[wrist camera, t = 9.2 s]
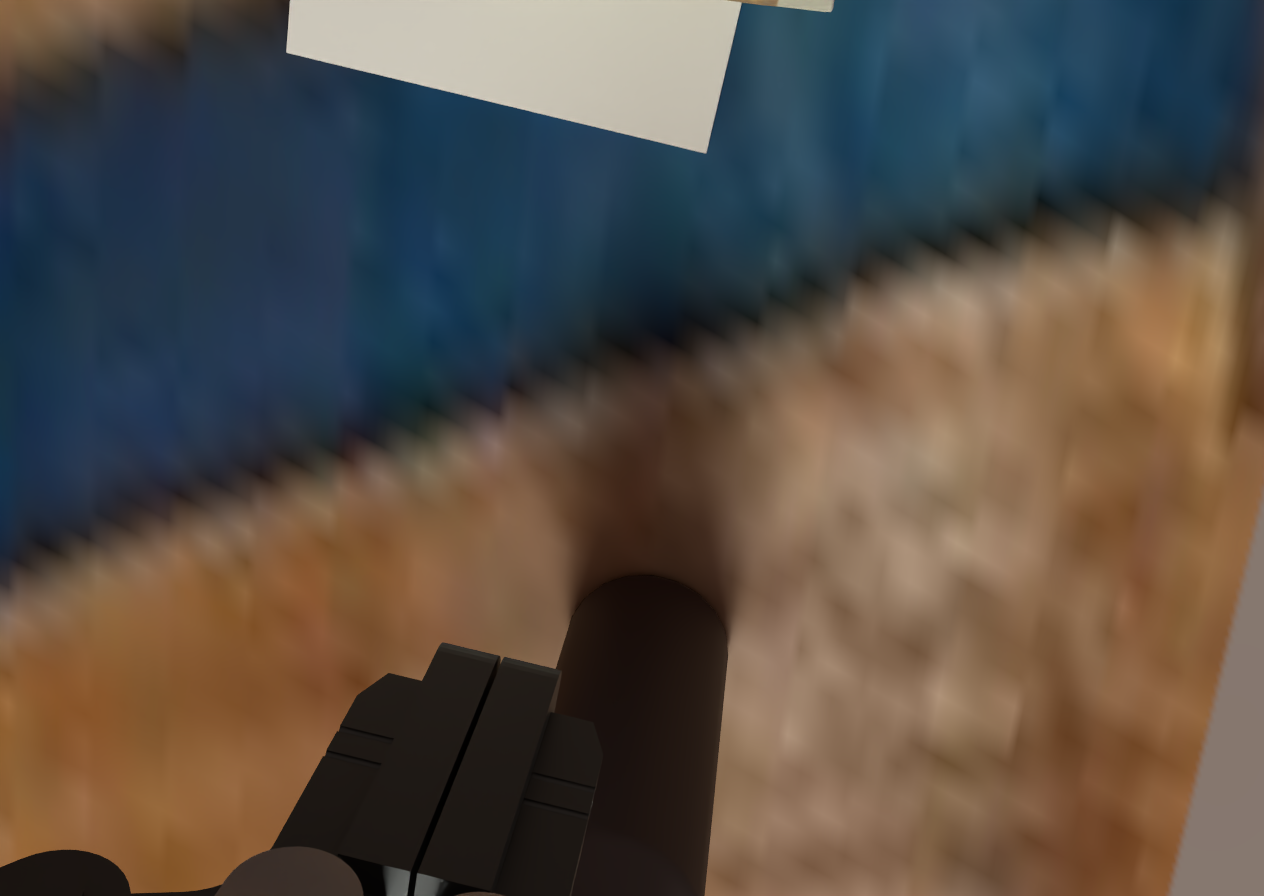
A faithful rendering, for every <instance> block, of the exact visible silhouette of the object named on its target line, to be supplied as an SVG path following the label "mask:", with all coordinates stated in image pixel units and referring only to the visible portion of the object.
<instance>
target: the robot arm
mask: <svg viewBox="0 0 1264 896" xmlns="http://www.w3.org/2000/svg"><path fill="white" fill-rule="evenodd" d="M500 661H501V659H500V656H498V655H494V654H489V653H485V652H481V651H477V650H473V649H469V648H464V647H460V646H456V645H452V644H448V643H441V645H440V646H439V648H438V650H437V652H436V654H435V656H434V658H433V660H432V662H431V664H430V666H429V668H428V670H427V672H426V674H425V676H424V678H423V680H422V681H420V680H416V679H411V678H407V677H403V676H399V675H395V674H391V673H388V674H387V675H385V676H384V677H382V678H381V679H380V680H378V681H377V682H375V683H374V684H373V685H371V686H370V687H368V688H367V689H365V690H364V691H363V692H361V693H360V694H358V695H357V697H356V698H355V700H354V702H353V704H352V706H351V707H350V709H349V711H348V713H347V715H346V716H345V718H344V720H343V722H342V723H341V725H340V729H339V732H338V731H337V732H336V734H335V736H334V738H333V740H332V741H331V743H330V745H329V747H328V748H327V751H326V755H325V757H324V756H323V757H322V759H321V761H320V763H319V765H318V766H317V768H316V770H315V772H314V773H313V775H312V777H311V779H310V781H309V782H308V784H307V786H306V788H305V790H304V791H303V793H302V795H301V797H300V798H299V800H298V802H297V804H296V806H295V807H294V809H293V811H292V813H291V815H290V816H289V818H288V820H287V822H286V823H285V825H284V827H283V829H282V831H281V832H280V834H279V836H278V838H277V840H276V841H275V843H274V845H273V846H272V848H271V849H270V850H269V851H265V852H262V853H260V854H258V855H256V856H253V857H251V858H250V859H248V860H246V861H245V862H243V863H242V864H240V865H239V866H238V867H237V868H236V869H235V870H233V872H232V873H231V874H230V875H229V876H228V877H227V879H226V880H225V881H224V883H223V884H222V885H219V886H216V887H212V888H208V889H203V890H198V891H189V892H168V893H135V894H131V891H130V887H129V883H128V881H127V879H126V877H125V875H124V873H123V872H122V871H121V870H120V869H119V867H118V866H116V865H115V864H114V863H112V862H111V861H110V860H108V859H106V858H104V857H102V856H100V855H97V854H93V853H90V852H85V851H79V850H56V851H47V852H43V853H38V854H34V855H31V856H28V857H25V858H23V859H20V860H17V861H15V862H13V863H10V864H8V865H5V866H3V867H0V896H571V893H572V888H573V884H574V880H575V876H576V871H577V867H578V863H579V859H580V855H581V850H582V846H583V842H584V837H585V833H586V829H587V824H588V820H589V816H590V811H591V807H592V803H593V798H594V794H595V790H596V785H597V781H598V776H599V772H600V768H601V763H602V759H603V752H602V748H601V745H600V742H599V739H598V736H597V732H596V729H595V726H594V723H593V722H591V721H586V720H582V719H578V718H574V717H570V716H566V715H562V714H557V713H554V711H555V706H556V701H557V696H558V692H559V687H560V681H561V675H562V671H561V670H557V669H553V668H549V667H545V666H540V665H536V664H532V663H528V662H524V661H520V660H515V659H511V658H507V657H504V658H503V660H502V662H501V664H500Z"/></svg>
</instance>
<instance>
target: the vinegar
mask: <svg viewBox="0 0 1264 896" xmlns="http://www.w3.org/2000/svg"><path fill="white" fill-rule="evenodd" d="M727 660H728V650H727V640H726V633H725V630H724V628H723V626H722V624H721V622H720V620H719V618H718V616H717V614H716V612H715V610H714V609H713V608H712V607H711V606H710V605H709V604H708V603H707V602H706V601H705V600H704V599H703V598H702V597H701V596H700V595H699V594H698V593H696V592H694V591H693V590H691V589H689V588H687V587H685V586H684V585H682V584H680V583H678V582H676V581H672V580H668V579H664V578H660V577H655V576H626V577H623V578H620V579H617V580H614V581H611V582H608V583H605V584H603V585H602V586H600V587H599V588H598V589H596V590H595V591H594V592H592V593H591V594H589V595H588V596H587V597H586V598H585V599H584V600H583V601H582V603H581V604H580V606H579V607H578V609H577V610H576V612H575V613H574V615H573V616H572V619H571V622H570V625H569V628H568V632H567V635H566V638H565V641H564V644H563V647H562V651H561V654H560V657H559V660H558V663H557V667H556V669H557V670H561V671H562V675H561V681H560V687H559V692H558V696H557V701H556V706H555V711H554V713H557V714H562V715H566V716H570V717H574V718H578V719H582V720H586V721H591V722H593V723H594V726H595V729H596V732H597V736H598V739H599V742H600V745H601V748H602V752H603V759H602V763H601V768H600V772H599V776H598V781H597V785H596V790H595V794H594V798H593V803H592V807H591V811H590V816H589V820H588V824H587V829H586V833H585V837H584V842H583V846H582V850H581V855H580V859H579V863H578V867H577V871H576V876H575V880H574V884H573V888H572V893H571V896H704V895H705V885H706V874H707V864H708V854H709V844H710V834H711V823H712V813H713V803H714V793H715V782H716V772H717V762H718V752H719V742H720V731H721V721H722V711H723V701H724V691H725V680H726V670H727Z"/></svg>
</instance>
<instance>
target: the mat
mask: <svg viewBox="0 0 1264 896" xmlns="http://www.w3.org/2000/svg"><path fill="white" fill-rule="evenodd" d="M741 4H742V2H735V1H728V0H290V10H289V23H288V37H287V51H286V53H290V54H294V55H298V56H303V57H307V58H311V59H315V60H319V61H323V62H327V63H332V64H336V65H340V66H344V67H348V68H352V69H357V70H361V71H365V72H369V73H373V74H377V75H382V76H386V77H390V78H394V79H398V80H402V81H406V82H411V83H415V84H419V85H423V86H427V87H431V88H436V89H440V90H444V91H448V92H452V93H456V94H461V95H465V96H469V97H473V98H477V99H481V100H485V101H490V102H494V103H498V104H502V105H506V106H510V107H515V108H519V109H523V110H527V111H531V112H535V113H540V114H544V115H548V116H552V117H556V118H560V119H564V120H569V121H573V122H577V123H581V124H585V125H589V126H594V127H598V128H602V129H606V130H610V131H614V132H619V133H623V134H627V135H631V136H635V137H639V138H643V139H648V140H652V141H656V142H660V143H664V144H668V145H673V146H677V147H681V148H685V149H689V150H693V151H698V152H702V153H706V152H707V148H708V144H709V140H710V135H711V131H712V127H713V123H714V118H715V114H716V110H717V106H718V101H719V97H720V93H721V89H722V84H723V80H724V76H725V72H726V68H727V63H728V59H729V55H730V51H731V46H732V42H733V38H734V34H735V29H736V25H737V21H738V17H739V12H740V8H741Z"/></svg>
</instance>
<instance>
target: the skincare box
mask: <svg viewBox="0 0 1264 896" xmlns="http://www.w3.org/2000/svg"><path fill="white" fill-rule="evenodd" d="M728 1H735V2H742V3H750V4H759V5H768V6H779V7H788V8H796V9H805V10H814V11H822V12H831V11H832V9H833V6H834V0H728Z"/></svg>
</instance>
